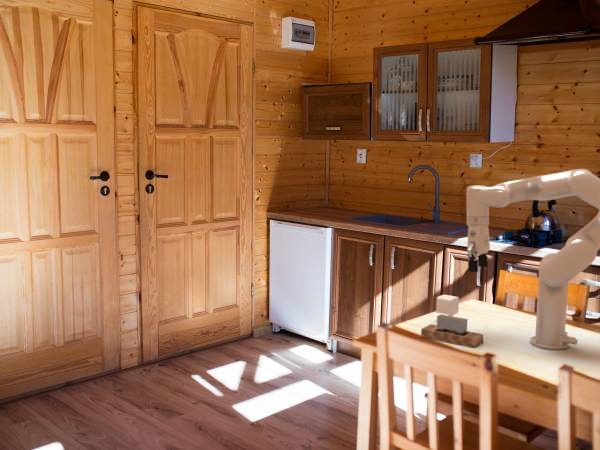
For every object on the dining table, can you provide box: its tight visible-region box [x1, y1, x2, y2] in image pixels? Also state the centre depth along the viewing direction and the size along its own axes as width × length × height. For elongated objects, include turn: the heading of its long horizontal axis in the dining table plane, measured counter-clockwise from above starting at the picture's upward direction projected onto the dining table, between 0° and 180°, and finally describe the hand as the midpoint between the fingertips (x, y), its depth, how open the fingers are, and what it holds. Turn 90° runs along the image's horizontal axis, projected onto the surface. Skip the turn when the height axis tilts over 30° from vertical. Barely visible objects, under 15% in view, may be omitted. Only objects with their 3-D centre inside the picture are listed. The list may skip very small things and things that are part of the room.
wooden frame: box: [420, 323, 484, 349], centre depth 243 cm, size 20×8×3 cm, turn 54°
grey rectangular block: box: [436, 313, 469, 336], centre depth 242 cm, size 10×3×8 cm, turn 54°
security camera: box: [435, 294, 460, 317], centre depth 263 cm, size 6×7×10 cm
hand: (477, 269), depth 243 cm, fingers open, 9 cm apart
